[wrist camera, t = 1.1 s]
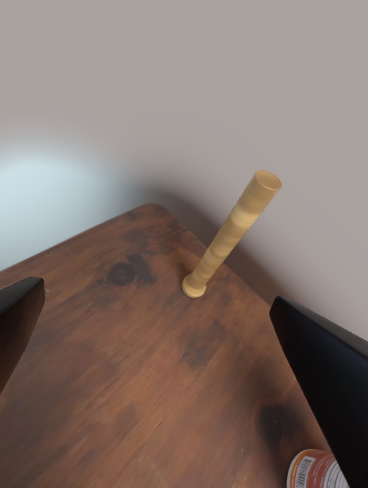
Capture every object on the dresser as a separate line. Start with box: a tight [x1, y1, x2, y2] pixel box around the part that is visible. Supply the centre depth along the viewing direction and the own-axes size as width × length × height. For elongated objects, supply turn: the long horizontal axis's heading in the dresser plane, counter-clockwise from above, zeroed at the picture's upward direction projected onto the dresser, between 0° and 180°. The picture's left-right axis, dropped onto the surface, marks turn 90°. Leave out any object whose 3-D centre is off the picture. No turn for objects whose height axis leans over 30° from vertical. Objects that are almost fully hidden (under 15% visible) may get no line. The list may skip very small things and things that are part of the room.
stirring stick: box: [182, 170, 282, 298], centre depth 20 cm, size 3×3×16 cm
